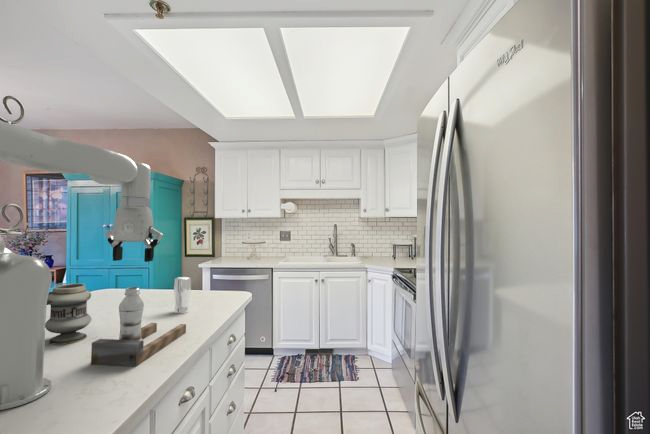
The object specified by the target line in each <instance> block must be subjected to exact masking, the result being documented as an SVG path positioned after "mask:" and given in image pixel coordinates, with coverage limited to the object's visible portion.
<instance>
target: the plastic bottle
mask: <svg viewBox="0 0 650 434" xmlns="http://www.w3.org/2000/svg"><path fill="white" fill-rule="evenodd" d="M140 293H141V292H140V287H138V286H130V287H126V288H125V292H124V296H125V297H124V298H123V299H122V300H121V302H120V303H119V306H118V314H119V325H120V326H119V327H120V330H119V338H118V340H139V341H143V339H142V338H141V328H142V321H143V320H142V319H143V312H144V308H145V303H144V301H143V299H142V298H141V297H140V296H139V295H140Z"/></svg>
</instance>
